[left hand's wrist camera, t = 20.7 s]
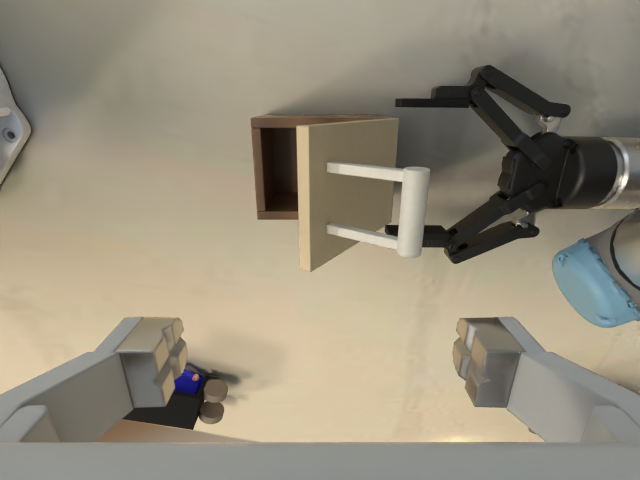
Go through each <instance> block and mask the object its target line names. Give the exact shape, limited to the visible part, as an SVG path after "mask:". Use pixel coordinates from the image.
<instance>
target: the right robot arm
mask: <svg viewBox="0 0 640 480" xmlns="http://www.w3.org/2000/svg"><path fill="white" fill-rule="evenodd" d="M485 87H486V88H487V89H489V90H490V91H492V92H494V93H495V94H497V95H499V96H500V97H502V98H504V99H505V100H507V101H508V102H510V103H512V104H513V105H515V106H517V107H518V108H520V109H522V110H523V111H525V112H527V113H529V114H532V115H536V116H535V117H534V119H535V121H536V123H538V124H540V125H541V127H542V131H541V132H538V133H536V134H535V135H533V136H532V137H529V136H528V135H526V134H525V133H523V132H522V131H521V130H520V129H519V128H518V127H517V125H516V124H515V123H514V122H513V121H512V120H511V119H510V118H509V117H508V116H507V114H506V113H505V112H504V111H503V110H502V109H501V108H500V107H499V106H498V104H497V103H496V102H495V101H494V100H493V99H492V98H491V97H490V96H489V95H488V93H487V92H486V91H485V90H484V88H485ZM469 106H470V107H471V108H472V109H473V110H474V111H475V112H476V113H477V114H478V115H479V116H480V117H481V118H482V119H483V120H484V122H485V123H486V124H487V125H488V126H489V127H490V128H491V129H492V130H493V131H494V132H495V133H496V134H497V135H498V137H499V138H500V139H501V142H502V143H503V144H504V145H505V146H506V147H507V148H508V149H509V150H510V151H509V152H508V153H507V155H506V157H503V160H502V173H501V175H500V177H499V181H498V186H500V191H498V192H497V193H495V194H494V195H493V196H491V197H490V200H489V201H488V202H486V203H485V204H483V205H482V206H481V207H479V208H478V209H476V210H475V211H473V212H472V213H471V214H469V215H468V216H466V217H465V218H463V219H462V220H461V221H459V222H458V223H456V224H455V225H454V226H452V227H451V228H449V229H448V230H445V229H444V228H443V227H442V226H435V225H424V232H423V241H422V247H443V248H444V253H445V254H446V255H447V257H448V258H449V259H450V260H451V261H452V263H454V264H457V263H460V262H462V261H465V260H467V259H470V258H472V257H475V256H477V255H479V254H482V253H484V252H487V251H489V250H492V249H494V248H496V247H499V246H501V245H504V244H506V243H508V242H511V241H513V240H516V239H519V238H530V237H536V236H537V235H538V234H539V232H540V231H539V228H537V227H536V226H535V219H536V212H539V211H541V210H543V209H589V208H590V209H637V210H635V211H634V212H633V213H631V214H629V215H627V216H626V217H624V218H623V219H621V220H620V221H618V222H617V223H616V224H614V225H613V226H611V227H610V228H608V229H606V230H604V231H602V232H600V233H598V234H596V235H594V236H591V237H589V238H586V239H584V238H583V239H580V240H578V243H576V244H574V245H572V246H570V247H568V248H566V249H564V250H562V251H560V252H558V253H557V254H556V255H555V256H554V258H553V261H552V270H553V274H554V277H555V280H556V282H557V284H558V286H559V288H560V290H561V292H562V293H563V295H564V296H565V298H566V299H567V301H568V302H569V303H570V305H571V306H572V307H573V308H574V309H575V310H576V311H577V312H578V313H579V314H580V315H581V316H582V317H583V318H585V319H586V320H587V321H589V322H590V323H592V324H594V325H596V326H599V327H603V328H611V327H616V326H618V325H621V324H624V323H627V322H630V321H633V320H636V321H640V138H633V137H602V138H599V137H561V136H559V135H558V134H556V132H557V129H558V126H559V123H560V121H561V118H564V117H566V116H568V115H569V113H570V110H571V108H570V106H569V105H567V104H559V103H552V102H549V101H547V100H546V99H544V98H542V97H541V96H539V95H538V94H536V93H534V92H533V91H531V90H530V89H528V88H526V87H525V86H523V85H522V84H520V83H518V82H517V81H515V80H514V79H512V78H510V77H509V76H507V75H506V74H504V73H503V72H501V71H499V70H498V69H496V68H495V67H493V66H491V65H487V66H482V67H478V68H475V69H474V70H473V71H472V73H471V78H470V80H469V82H468V84H467V85H465V86H438V87H435V88H433V89H432V93H431V99H396V103H395V107H444V108H469ZM507 199H509V200H507ZM518 208H521V209H522V210H523V212H522V214H521V215H519V216H517V217H513V218H512V221H509V222H505V223H502V224H499V225H497V226H495V227H492V228H490V229H488V230H485V231H483V232H480V231H482V230H483V229H485V228H486V227H487V226H489V225H490V224H492V223H493V222H495V221H496V220H498V219H499V218H501V217H502V216H504V215H505V214H510V213H512V212H514V211H515V210H517V209H518ZM398 228H399V225H386V226H385V232H386V234H387V235H391V236H396V237H398ZM479 232H480V233H479ZM477 233H478V234H477Z"/></svg>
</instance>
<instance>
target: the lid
mask: <svg viewBox="0 0 640 480" xmlns="http://www.w3.org/2000/svg"><path fill="white" fill-rule="evenodd" d="M398 128H399V118H385V119H373V120H361V121H349V122H336V123H324V124H312V125H300V126H297V127H296V130H297V172H298V214H299V255H300V269H302V270H305V271H308V272H311V271H313V270H315V269H316V268H318V267H320V266H321V265H323V264H324V263H326V262H328V261H329V260H331V259H332V258H334V257H336V256H337V255H339V254H340V253H342V252H344V251H345V250H347V249H349V248H350V247H352V246H353V245H355V244H357V243H358V242H360V241H361V242H365V243H370V244H374V245H378V246H382V247H386V248H390V249H395V250H397V254H398V255H400V256H403V257H408V258H415V257H419V256H420V255H421V250H422V241H423V232H424V223H425V215H426V206H427V197H428V189H429V180H430V171H431V170H430V169H429V168H425V167H406V168H404V169H400V168H395V166H396V154H397V141H398ZM394 181H398V182H402V193H401V205H400V216H399V228H398V237H396V236H391V235H387V234H382V233H378V232H376V231H378V230H379V229H381V228H382V227H384V226H386V225H387V224H389V223H390V222H391V218H392V205H393V192H394Z"/></svg>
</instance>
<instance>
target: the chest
mask: <svg viewBox="0 0 640 480" xmlns="http://www.w3.org/2000/svg"><path fill="white" fill-rule="evenodd" d="M385 118H390V117H386V116H381V115H262V116H258V117H254V118H251V128H252V143H253V158H254V173H255V187H256V202H257V217H258V219H299V214H298V172H297V130H296V127H297V126H300V125H312V124H324V123H336V122H349V121H361V120H373V119H385Z"/></svg>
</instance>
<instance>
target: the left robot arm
mask: <svg viewBox="0 0 640 480" xmlns="http://www.w3.org/2000/svg"><path fill="white" fill-rule="evenodd" d="M12 132H13V133H14V135H15V137H13V135H12ZM30 134H31V127H30V125H29V123H28V121H27V119H26V118H25V116H24V115H23V113H22V112H21V111H20V109H19V108H18V107H17V105H16V104H15V102H14V99H13V97H12V94H11V91H10V88H9V85H8V82H7V80H6V77H5V75H4V73H3V72H2V70H1V68H0V184H1V182H2V181H3V179H4V177H5V176H6V174H7V172H8V171H9V169H10V167H11V166H12V164H13V162H14V161H15V159H16V157H17V156H18V154H19V152H20V151H21V149H22V147H23V146H24V144H25V142H26V141H27V139H28V137H29V136H30ZM183 331H184V328H183V324H182V320H181V319H180V318H170V317H127V318H124V319H123V320H122V321H121V322H120V323H119V325H118V326H117V327H116V328H115V329H114V330H113V331H112V332H111V333H110V334H109V335H108V337H107V338H106V339H105V340H104V341H103V342H102V343H101V344H100V345H99V346H98V348H97V349H96V350H95V351H94V352H87V353H85V354H83V355H81V356H79V357H77V358H75V359H73V360H71V361H69V362H66V363H64V364H62V365H60V366H58V367H56V368H54V369H52V370H50V371H48V372H46V373H44V374H42V375H40V376H38V377H36V378H34V379H32V380H30V381H28V382H26V383H23V384H21V385H19V386H17V387H15V388H13V389H11V390H9V391H7V392H5V393H3V394H1V395H0V480H640V395H639V394H637V393H635V392H633V391H631V390H629V389H627V388H624V387H622V386H620V385H618V384H616V383H614V382H612V381H610V380H608V379H606V378H604V377H602V376H600V375H598V374H596V373H594V372H592V371H590V370H588V369H586V368H584V367H582V366H580V365H578V364H575V363H573V362H571V361H569V360H567V359H565V358H563V357H561V356H559V355H557V354H555V353H553V352H546V351H545V350H544V349H543V348H542V346H541V345H540V344H539V343H538V342H537V341H536V340H535V339H534V338H533V337H532V335H531V334H530V333H529V332H528V331H527V330H526V329H525V328H524V327H523V326H522V325H521V323H520V322H519V321H518V320H517V319H516V318H514V317H494V318H460V319H459V321H458V323H457V328H456V331H457V333H458V334H459V336H460V337H459V338H458V339H457V340H456V341H455V342H454V346H453V362H454V365H455V369H456V371H457V373H458V375H459V376H460V377H461V378H463V379H464V380H466V384H465V389H466V391H467V393H468V395H469V397H470V399H471V401H472V403H473V404H474V406H475V407H500V408H507V410H508V411H509V412H511V413H512V414H513V415H514V416H515V417H517V418H518V419H519V420H520V421H521V422H523V423H524V424H525V425H526V426H527V427H529V428H530V429H531V430H532V431H533V432H535V433H536V434H537V435H538V436H539V437H541V438H542V439H543V440H544V441H545V442H94V441H96V440H97V439H98V438H99V437H101V436H102V435H103V434H104V433H105V432H107V431H108V430H109V429H110V428H111V427H113V426H114V425H115V424H116V423H118V422H119V421H120V420H121V419H122V418H124V417H125V416H126V415H127V414H128V413H130V412H131V411H132V410H133V408H140V407H165V406H166V405H167V403H168V401H169V399H170V397H171V395H172V393H173V391H174V389H175V384H174V380H176V379H177V378H179V377H180V376H181V375H182V373H183V371H184V369H185V365H186V361H187V346H186V342H185V341H184V340H183V339H182V338H181V337H180V336H181V334H182V333H183Z"/></svg>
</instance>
